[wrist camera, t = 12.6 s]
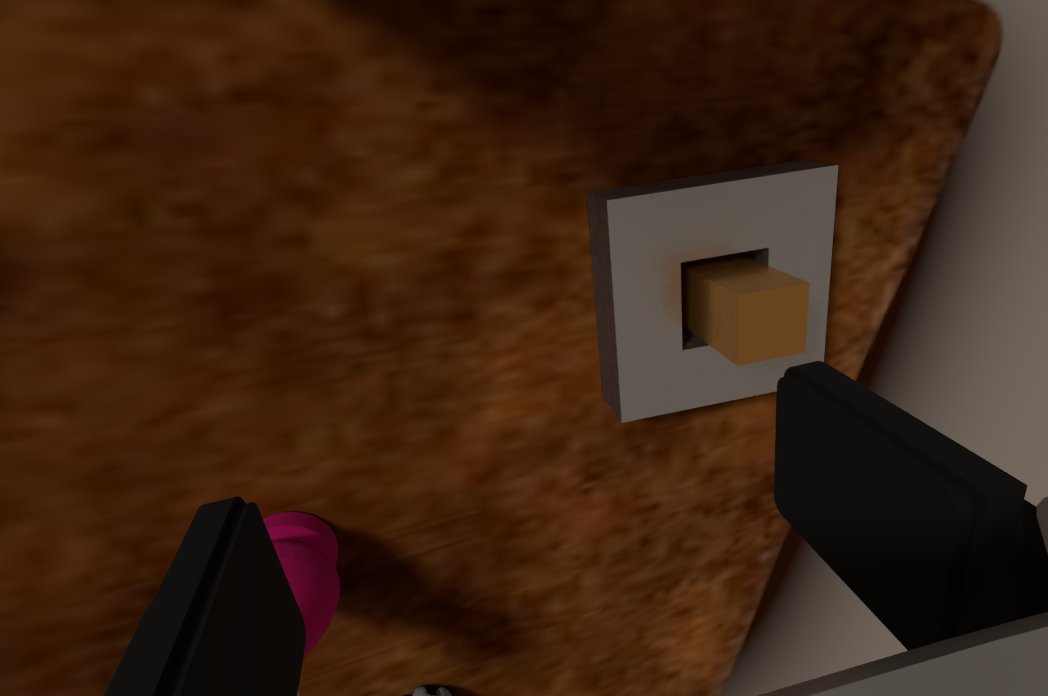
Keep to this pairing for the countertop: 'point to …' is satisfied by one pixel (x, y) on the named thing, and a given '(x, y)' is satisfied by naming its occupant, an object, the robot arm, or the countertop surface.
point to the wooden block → (744, 308)
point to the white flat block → (691, 234)
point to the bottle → (420, 692)
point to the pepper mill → (308, 568)
